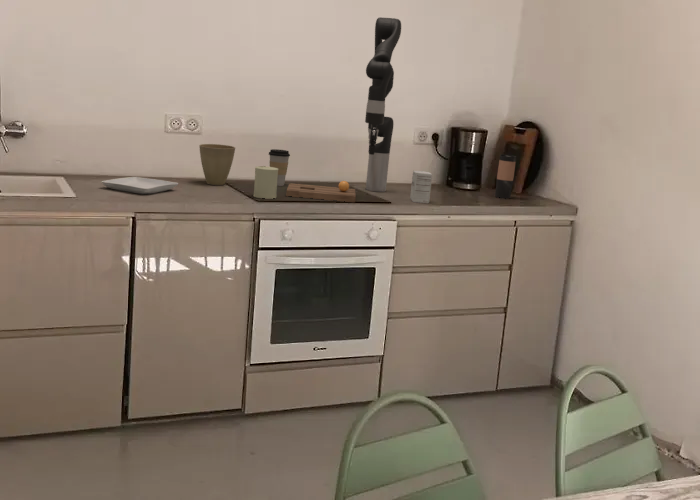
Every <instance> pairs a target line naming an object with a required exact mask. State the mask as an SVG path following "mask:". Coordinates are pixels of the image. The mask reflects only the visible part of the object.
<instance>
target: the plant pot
mask: <svg viewBox="0 0 700 500" xmlns="http://www.w3.org/2000/svg"><path fill="white" fill-rule="evenodd" d="M235 151H236V147H235V146H233V145H227V144H217V143H201V144H199V154H200V162H201V167H202V171H203V175H204V178H205V181H206V184H208V185H210V186H224V185H225V184H226V182H227V179H228V177H229V174H230V171H231V168H232V165H233V161H234V156H235Z"/></svg>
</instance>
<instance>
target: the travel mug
mask: <svg viewBox="0 0 700 500" xmlns="http://www.w3.org/2000/svg"><path fill="white" fill-rule="evenodd" d="M516 163H517V155H512V154H504V153H503V154H500V155H499V161H498V168H497V173H496V182H495V183H496V184H495V193H494V197H495V196H496V197H495V198H497V197H500V198H499V199H502V198H510V199H511V195H512V189H513V184H514V177H515V170H516Z"/></svg>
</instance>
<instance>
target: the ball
mask: <svg viewBox="0 0 700 500" xmlns="http://www.w3.org/2000/svg"><path fill="white" fill-rule="evenodd" d="M337 188H339V190H340V191H342V192H345V191H347V190H348V189H350V184H349V182H348V181H346V180H341V181H340V182H339V183H338V187H337Z"/></svg>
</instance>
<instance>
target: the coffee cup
mask: <svg viewBox="0 0 700 500" xmlns="http://www.w3.org/2000/svg"><path fill="white" fill-rule="evenodd" d="M290 154H291V153H290V152H289V150H285V149H275V148H274V149H272V148H271V149H270V151H269V152H268V155H269V167H274V168H278V178H277V187H278V186H279V187H282V186H285V181H286V176H287V172H288V165H289V158H290V156H291V155H290Z"/></svg>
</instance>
